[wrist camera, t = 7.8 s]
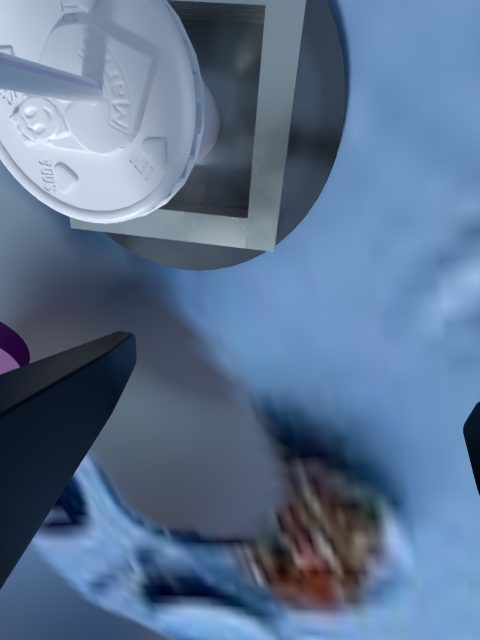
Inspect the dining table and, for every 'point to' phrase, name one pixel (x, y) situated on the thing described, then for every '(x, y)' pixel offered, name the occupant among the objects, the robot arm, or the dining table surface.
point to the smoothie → (101, 105)
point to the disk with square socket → (250, 134)
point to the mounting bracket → (12, 350)
